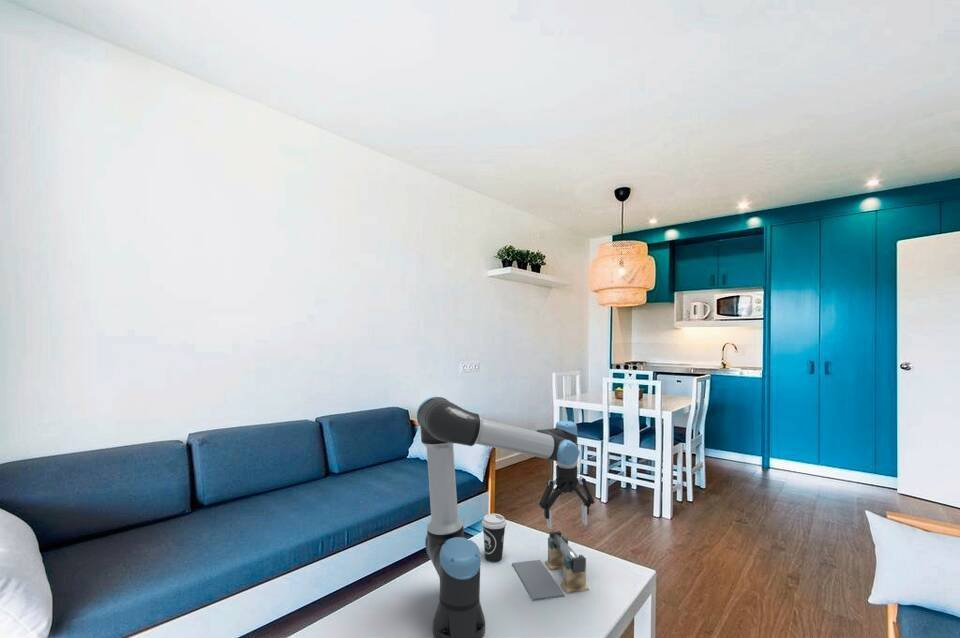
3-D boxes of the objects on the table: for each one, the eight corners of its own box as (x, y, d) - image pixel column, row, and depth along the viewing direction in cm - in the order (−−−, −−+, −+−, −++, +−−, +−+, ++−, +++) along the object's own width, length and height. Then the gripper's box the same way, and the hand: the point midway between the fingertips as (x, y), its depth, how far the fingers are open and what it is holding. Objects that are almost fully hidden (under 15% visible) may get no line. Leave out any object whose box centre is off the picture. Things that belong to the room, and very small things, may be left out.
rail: (584, 571, 141) (584, 558, 141) (573, 573, 140) (573, 560, 140) (559, 542, 161) (559, 531, 161) (549, 543, 160) (549, 532, 160)
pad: (532, 600, 136) (532, 598, 136) (512, 564, 157) (512, 562, 157) (564, 596, 138) (564, 594, 138) (539, 561, 160) (539, 559, 160)
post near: (566, 593, 140) (567, 563, 140) (560, 584, 145) (560, 555, 145) (588, 590, 142) (589, 560, 142) (582, 581, 147) (582, 552, 147)
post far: (550, 570, 154) (550, 542, 154) (545, 563, 158) (545, 536, 159) (570, 567, 155) (570, 540, 156) (564, 560, 160) (565, 534, 161)
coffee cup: (504, 565, 156) (504, 524, 157) (478, 562, 158) (479, 521, 159) (507, 553, 165) (508, 514, 166) (483, 550, 167) (484, 511, 168)
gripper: (537, 471, 145) (537, 534, 144) (603, 466, 151) (603, 526, 150) (530, 464, 152) (530, 524, 152) (593, 460, 158) (593, 517, 157)
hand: (566, 525), depth 151 cm, fingers open, 13 cm apart
